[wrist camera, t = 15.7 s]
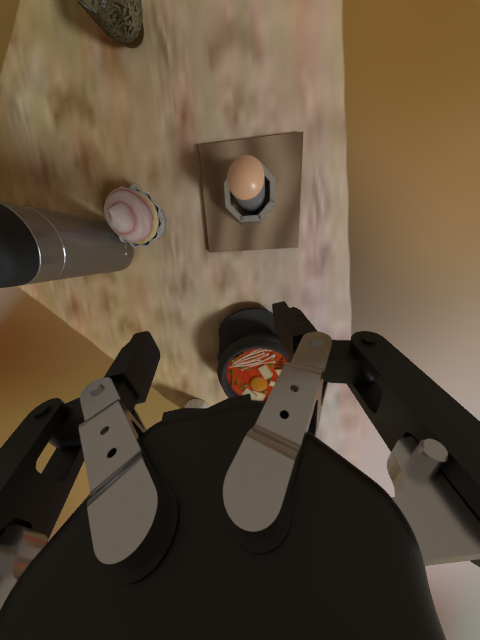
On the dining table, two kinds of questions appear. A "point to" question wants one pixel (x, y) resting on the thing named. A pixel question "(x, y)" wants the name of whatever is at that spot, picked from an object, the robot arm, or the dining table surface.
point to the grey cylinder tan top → (247, 183)
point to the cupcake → (134, 216)
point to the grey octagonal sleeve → (257, 219)
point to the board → (283, 220)
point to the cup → (117, 19)
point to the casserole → (249, 354)
